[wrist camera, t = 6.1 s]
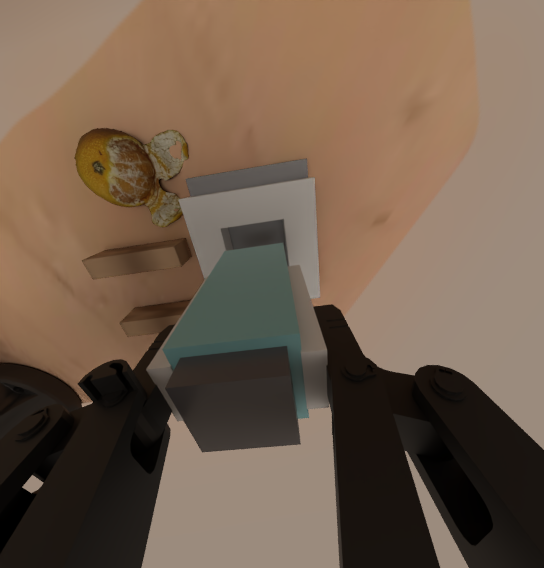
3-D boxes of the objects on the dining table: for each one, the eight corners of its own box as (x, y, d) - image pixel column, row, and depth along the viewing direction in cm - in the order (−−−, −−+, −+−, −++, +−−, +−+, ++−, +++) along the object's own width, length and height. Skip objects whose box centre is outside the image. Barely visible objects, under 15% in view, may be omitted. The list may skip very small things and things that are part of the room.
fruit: (184, 229, 21) (169, 238, 18) (98, 208, 20) (65, 213, 17) (190, 135, 18) (173, 125, 15) (86, 103, 17) (42, 85, 13)
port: (224, 305, 25) (217, 325, 22) (187, 178, 19) (169, 179, 16) (314, 293, 25) (321, 311, 21) (305, 159, 18) (314, 154, 15)
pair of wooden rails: (142, 320, 26) (127, 336, 24) (104, 250, 22) (81, 260, 19) (210, 311, 26) (204, 327, 23) (185, 238, 22) (173, 246, 19)
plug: (237, 300, 16) (194, 459, 7) (224, 250, 14) (142, 379, 5) (289, 294, 16) (313, 449, 7) (283, 242, 14) (304, 362, 5)
